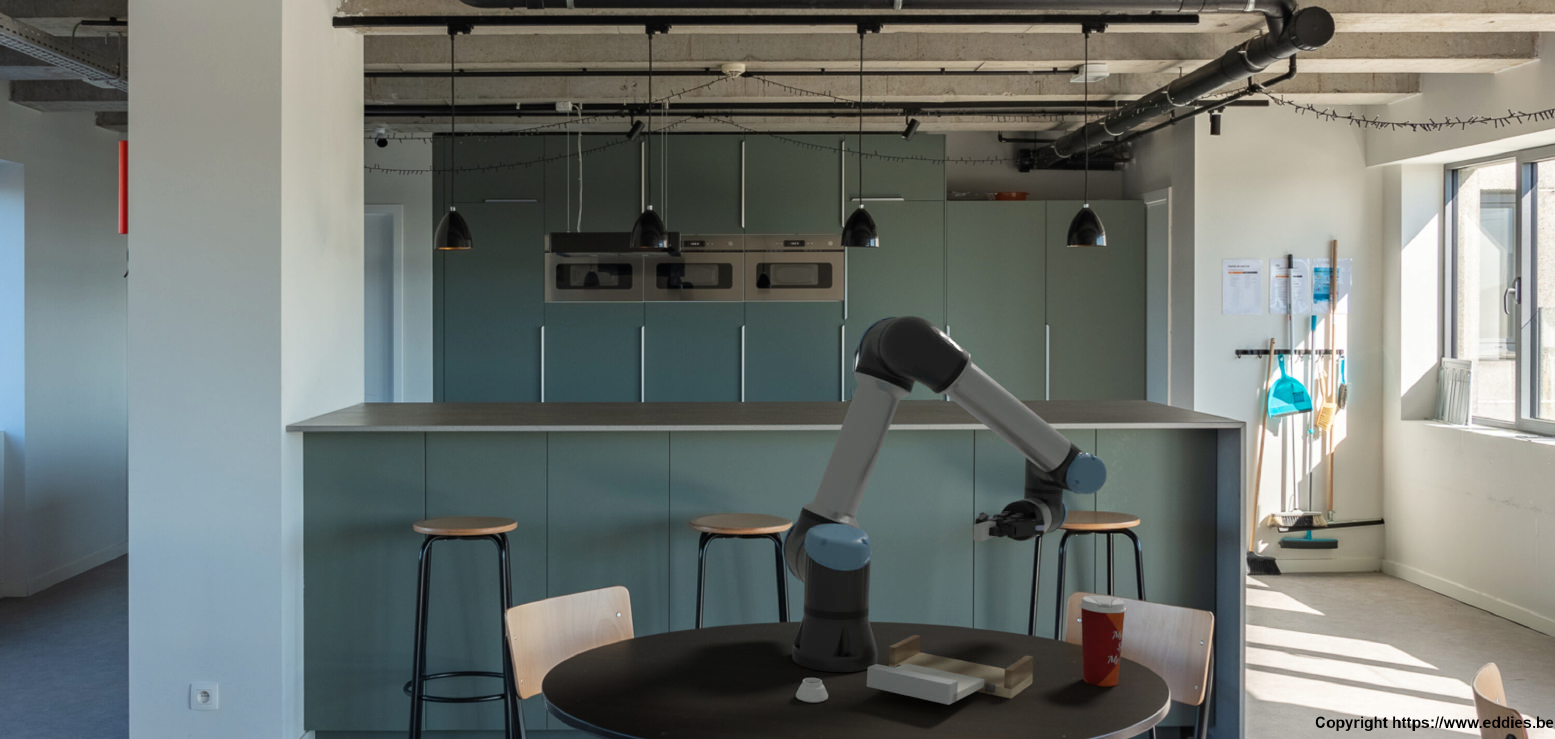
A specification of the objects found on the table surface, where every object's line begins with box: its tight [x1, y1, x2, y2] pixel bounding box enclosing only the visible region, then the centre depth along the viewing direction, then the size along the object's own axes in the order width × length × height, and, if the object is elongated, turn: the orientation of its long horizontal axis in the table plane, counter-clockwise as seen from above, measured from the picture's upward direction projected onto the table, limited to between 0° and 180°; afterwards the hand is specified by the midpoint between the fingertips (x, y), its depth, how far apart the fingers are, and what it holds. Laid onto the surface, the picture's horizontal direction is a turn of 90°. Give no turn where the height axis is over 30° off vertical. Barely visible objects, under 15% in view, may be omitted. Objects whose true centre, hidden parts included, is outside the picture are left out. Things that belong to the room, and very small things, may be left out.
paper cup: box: [1079, 595, 1128, 688], centre depth 177 cm, size 8×8×14 cm
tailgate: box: [866, 663, 985, 706], centre depth 165 cm, size 14×3×14 cm
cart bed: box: [888, 634, 1034, 700], centre depth 176 cm, size 22×12×4 cm, turn 57°
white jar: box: [795, 677, 829, 704], centre depth 164 cm, size 5×3×5 cm
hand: (977, 533), depth 180 cm, fingers closed
